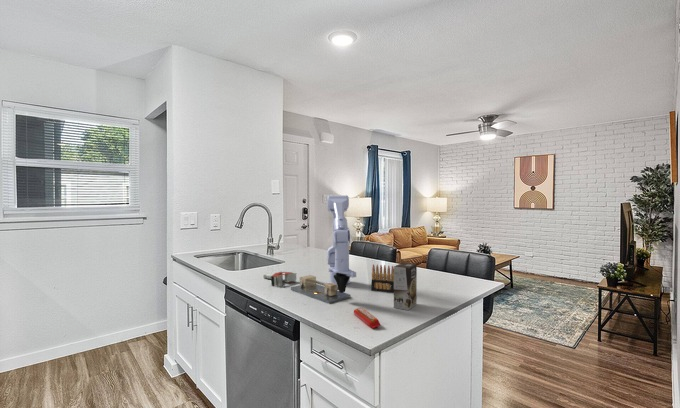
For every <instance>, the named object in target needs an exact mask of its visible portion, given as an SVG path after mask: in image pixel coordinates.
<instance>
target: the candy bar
mask: <svg viewBox="0 0 680 408" xmlns="http://www.w3.org/2000/svg"><path fill="white" fill-rule="evenodd" d="M353 315H354V316H355V317H356V318H357V319H359V320H360V321H361V322H362V323H363V324H365V325H366V326H367V327H369V328H370V329H376V328H377V327H380V326H381V323H380V321H379V319H378V318H377V317H376V316H374V315H373V314H372V313H370V312H369V311H368V310H367V309H364V308H363V307H357V308H355V309H353Z"/></svg>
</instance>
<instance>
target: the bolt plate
mask: <svg viewBox="0 0 680 408" xmlns="http://www.w3.org/2000/svg"><path fill="white" fill-rule="evenodd" d="M290 291H293V292H295V293H298V294H301V295H304V296H307V297H309V298H312V299H315V300H318V301H321V302H324V303H326V304H328V303H330V304H333V303H337V302H339V301H343V300H346V299H350V298H351V297H352V295H351V294H350V293H346V292H343V293H340V292H339V290H337V294H336V295H333V296H329V295H326V294H325V286H323V285H320V284H317V283H316V286H312V287H308V288H304V287H301V286H300V284H299V285H296V286H291V287H290Z"/></svg>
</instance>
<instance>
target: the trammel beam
mask: <svg viewBox="0 0 680 408" xmlns="http://www.w3.org/2000/svg"><path fill="white" fill-rule="evenodd" d="M316 284H318V285H321V286H324V287H325V284H327V283H326V282H323V281H320V280H317V276H315V275H311V274H309V275H308V274H307V275H304V276H303V275H302V276H300V277H299V285H300V286H301V287H304V288H308V287H312V286H316ZM337 291H339V289H338V286H337Z"/></svg>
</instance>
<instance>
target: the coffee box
mask: <svg viewBox="0 0 680 408" xmlns="http://www.w3.org/2000/svg"><path fill="white" fill-rule="evenodd" d="M393 267H394V293H393V308H394V309H400V310H405V311H410V310H412V309H413V308H414V307H415V306H416V305H417V303H418V301H417V297H418V295H417V293H418V291H417V290H418V289H417V286H418V285H417V281H418V279H417V276H418V274H417V273H418V272H417V270H418V269H417V268H418V267H417V263H408V262H401V263H399V264H395V265H393Z"/></svg>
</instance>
